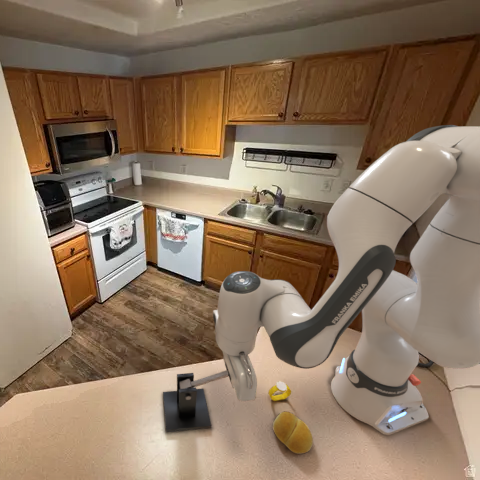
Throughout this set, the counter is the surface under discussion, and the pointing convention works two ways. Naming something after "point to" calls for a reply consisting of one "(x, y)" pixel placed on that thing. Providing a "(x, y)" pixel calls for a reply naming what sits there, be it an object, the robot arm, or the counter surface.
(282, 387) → the watch
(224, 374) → the lever
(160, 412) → the counter surface
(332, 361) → the counter surface
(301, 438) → the bread roll
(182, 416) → the bracket
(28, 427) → the counter surface
